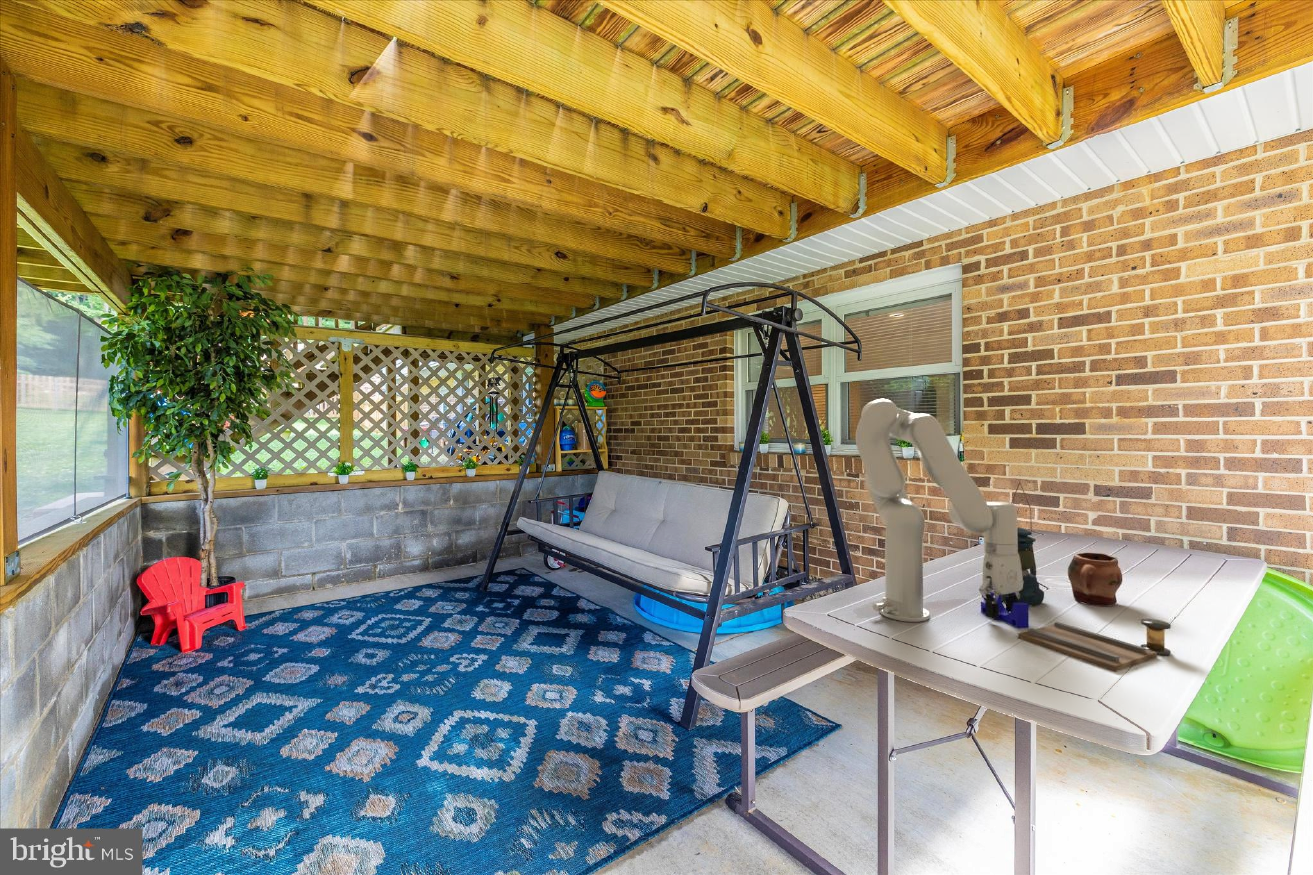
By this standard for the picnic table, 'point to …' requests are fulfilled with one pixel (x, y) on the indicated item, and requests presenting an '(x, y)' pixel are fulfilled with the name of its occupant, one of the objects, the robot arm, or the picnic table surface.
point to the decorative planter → (1095, 578)
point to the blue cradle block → (1011, 613)
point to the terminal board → (1088, 646)
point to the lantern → (1027, 567)
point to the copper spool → (1156, 636)
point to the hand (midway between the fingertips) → (1002, 614)
